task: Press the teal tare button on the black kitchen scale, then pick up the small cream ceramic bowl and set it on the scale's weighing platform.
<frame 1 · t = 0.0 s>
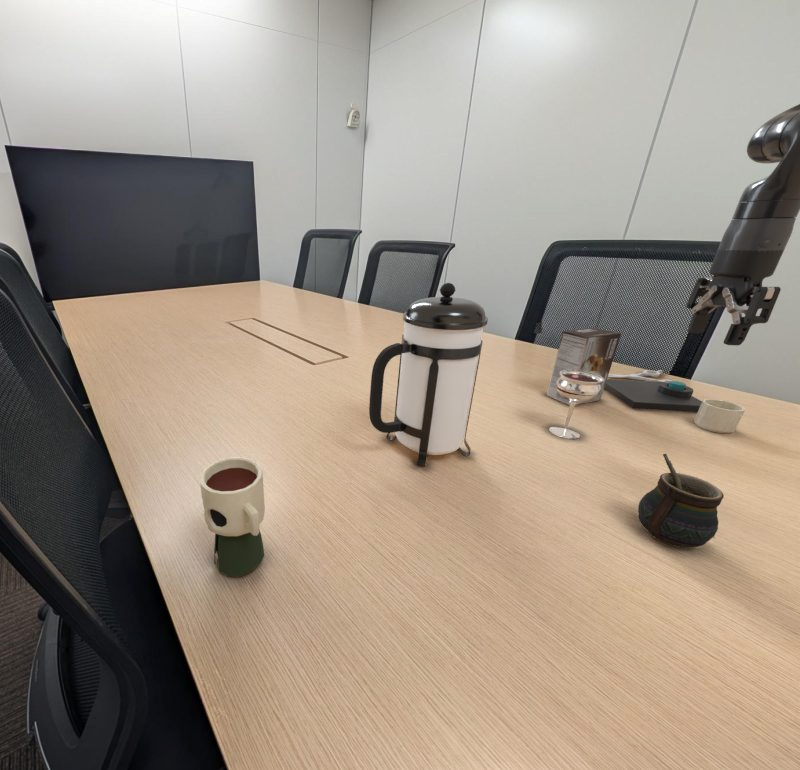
hand: (712, 338, 71), 17 cm above the table, tool pointing down, fingers open, 8 cm apart
bowl: (712, 427, 74), on the table
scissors: (629, 378, 98), on the table
tare button: (676, 385, 85), point 3 cm above the table, slide at 0.2 cm
mate gourd: (665, 534, 49), on the table
coffee press: (421, 449, 70), on the table
character mug: (240, 560, 47), on the table
coffee box: (572, 398, 88), on the table
scale: (648, 397, 87), on the table
wineglass: (564, 433, 74), on the table
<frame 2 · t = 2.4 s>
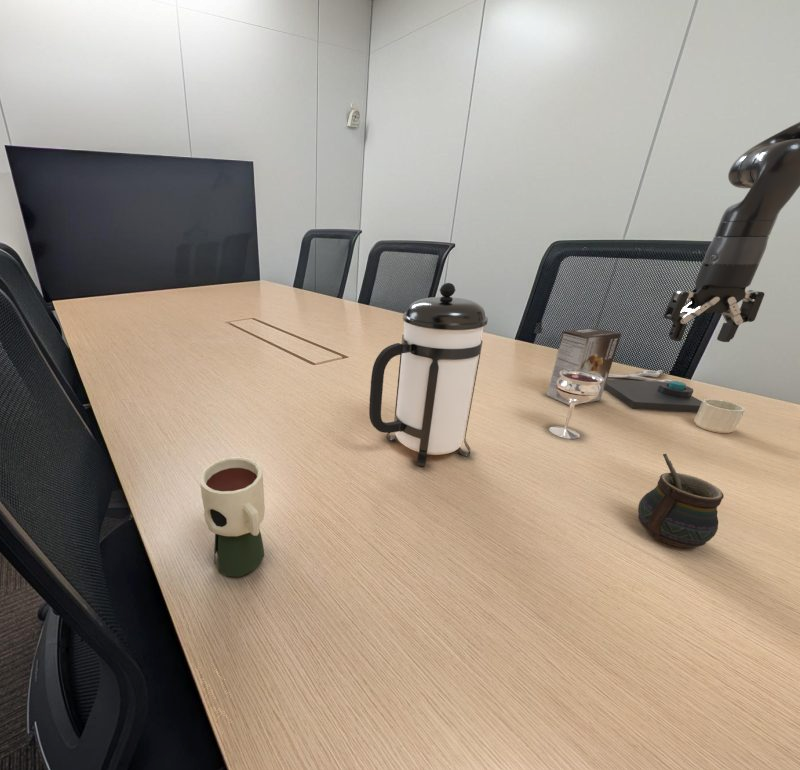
hand: (698, 340, 80), 14 cm above the table, tool pointing down, fingers open, 8 cm apart
nothing on the table moved.
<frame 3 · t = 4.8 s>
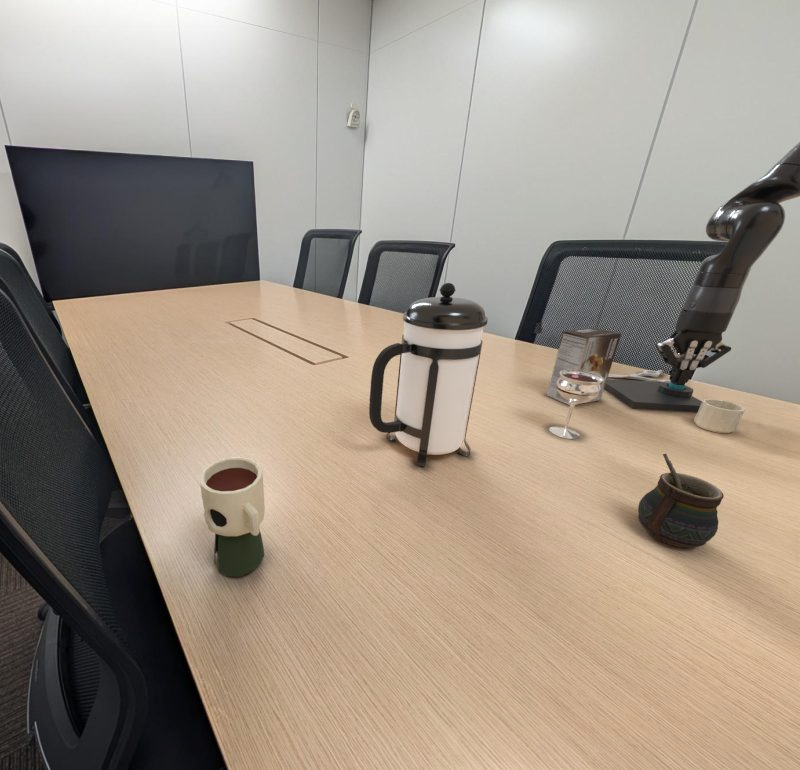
hand: (676, 383, 85), 4 cm above the table, tool pointing down, fingers closed
tare button: (676, 386, 85), point 3 cm above the table, slide at -0.1 cm, touching gripper
everything else where it was.
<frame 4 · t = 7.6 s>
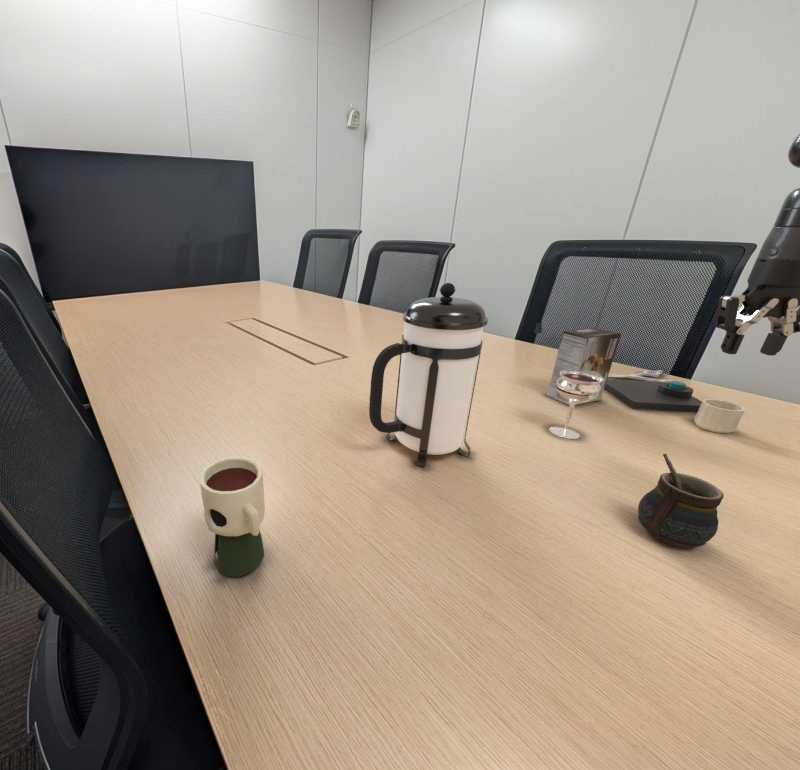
hand: (747, 353, 68), 15 cm above the table, tool pointing down, fingers open, 5 cm apart
tare button: (676, 385, 85), point 3 cm above the table, slide at 0.1 cm
everything else where it was.
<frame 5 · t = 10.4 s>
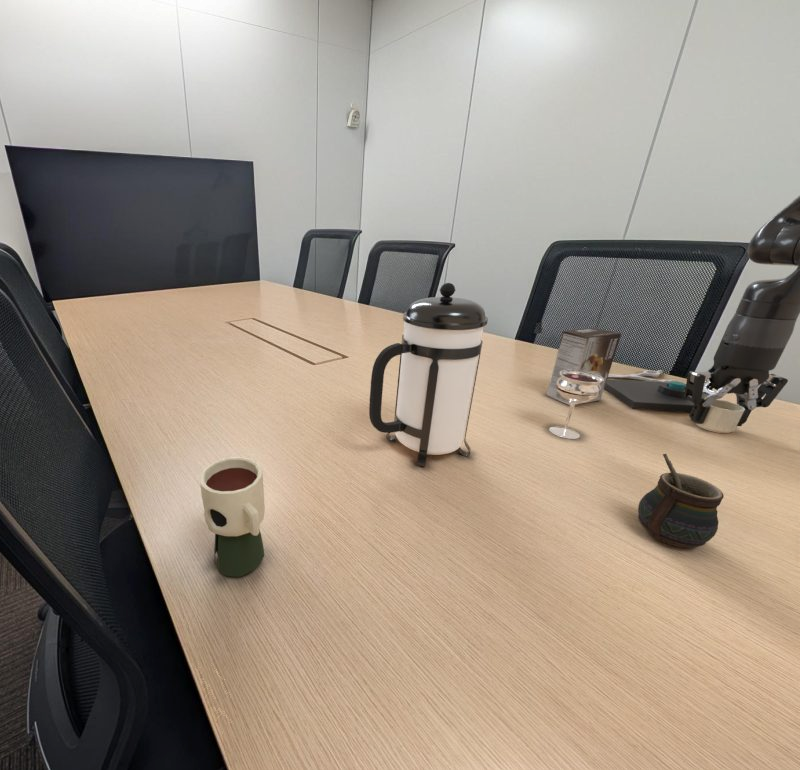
hand: (714, 422, 74), 1 cm above the table, tool pointing down, fingers closed on bowl, 5 cm apart
bowl: (712, 427, 74), on the table, touching gripper
everything else where it was.
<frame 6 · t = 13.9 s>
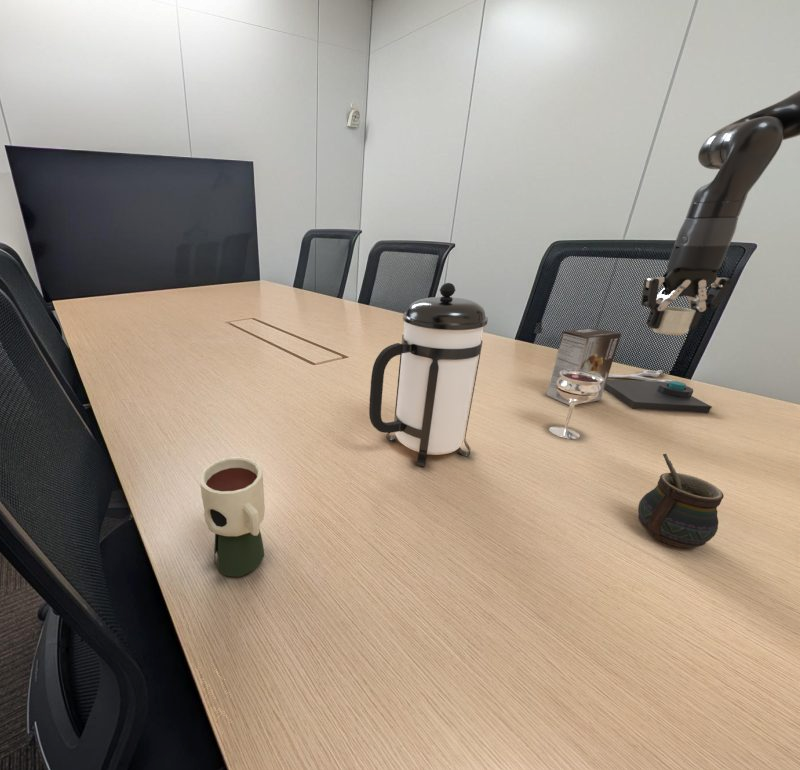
hand: (669, 327, 79), 17 cm above the table, tool pointing down, fingers closed on bowl, 5 cm apart
bowl: (668, 332, 80), point 16 cm above the table, touching gripper
everything else where it was.
when the fingers open (3 cm above the table, at t = 17.8 s): bowl stays where it is, resting on scale.
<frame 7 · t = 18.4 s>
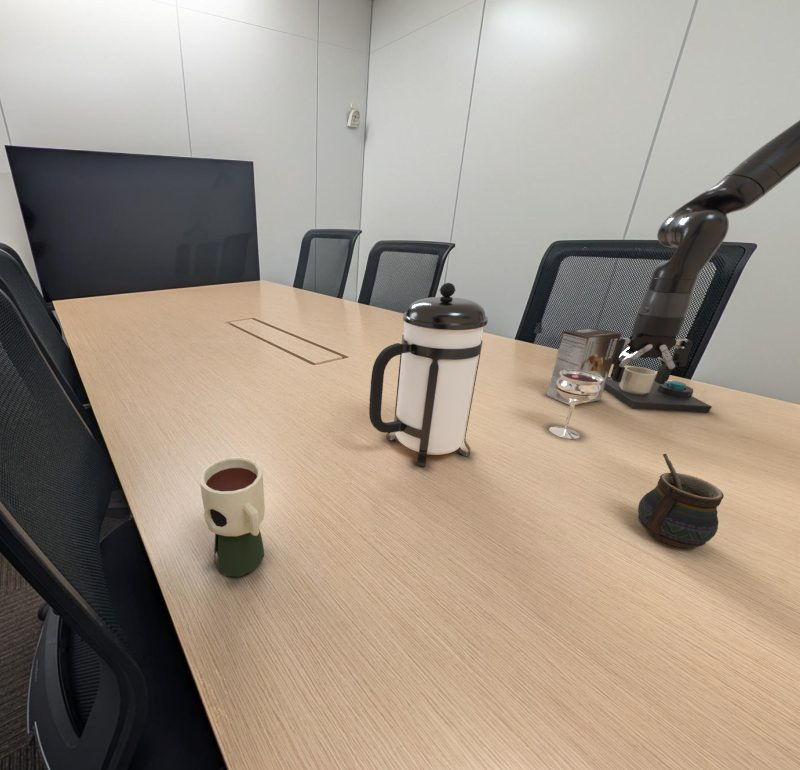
hand: (636, 381, 87), 4 cm above the table, tool pointing down, fingers open, 8 cm apart
bowl: (633, 390, 87), point 2 cm above the table, touching scale
everything else where it was.
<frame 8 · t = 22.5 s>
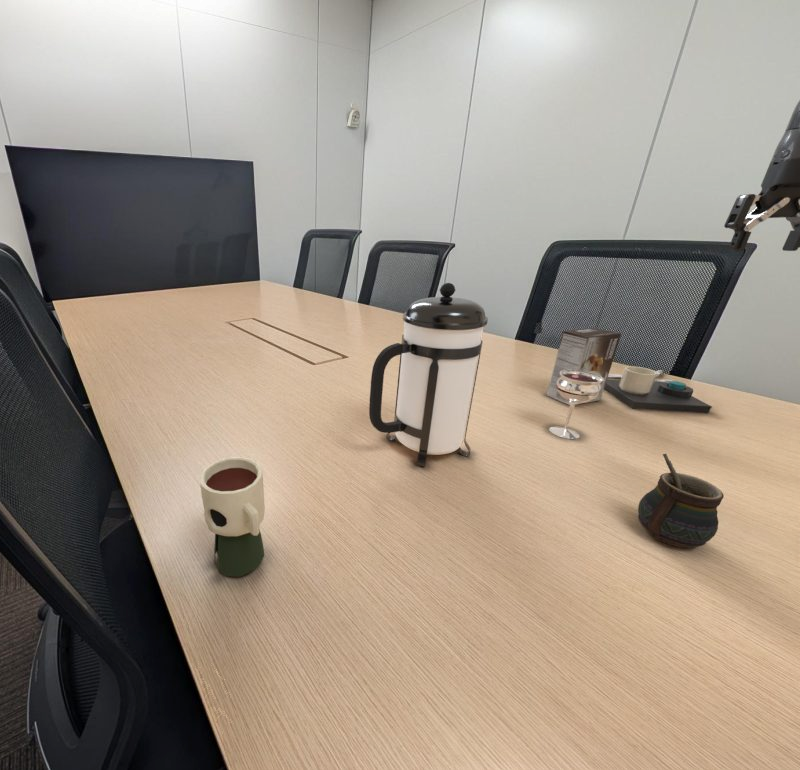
hand: (762, 251, 75), 32 cm above the table, tool pointing down, fingers open, 8 cm apart
nothing on the table moved.
at the end: tare button pushed in 0.7 cm at the most during the clip, back to where it started at the end; bowl inside the target area on the scale (0.1 cm from its centre), point 1.6 cm above the scale's base; bowl touching scale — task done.
